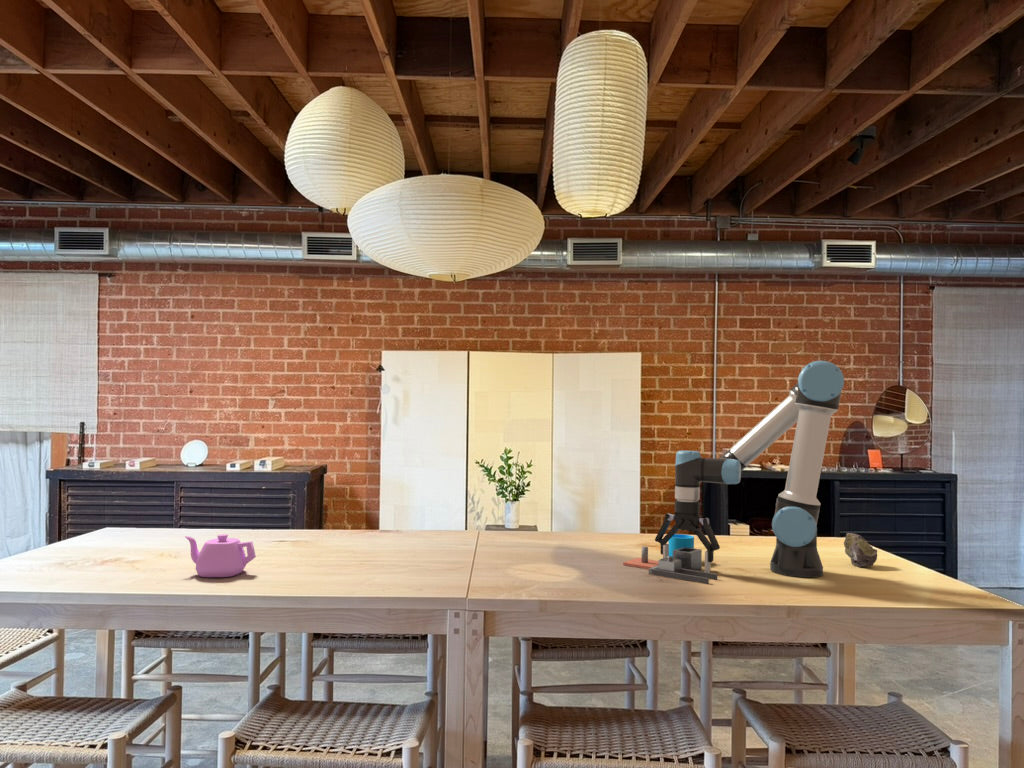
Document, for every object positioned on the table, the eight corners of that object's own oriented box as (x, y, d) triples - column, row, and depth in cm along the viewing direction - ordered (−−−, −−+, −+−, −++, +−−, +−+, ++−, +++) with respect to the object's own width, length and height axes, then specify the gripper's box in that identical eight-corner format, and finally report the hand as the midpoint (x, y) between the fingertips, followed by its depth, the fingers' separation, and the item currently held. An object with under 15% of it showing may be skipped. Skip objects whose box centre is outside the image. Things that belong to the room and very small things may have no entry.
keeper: (666, 564, 218) (666, 546, 219) (652, 569, 211) (652, 551, 211) (637, 560, 225) (637, 542, 225) (623, 565, 217) (623, 547, 217)
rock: (835, 564, 223) (835, 534, 223) (848, 561, 229) (848, 531, 230) (870, 570, 215) (870, 539, 215) (882, 566, 221) (882, 535, 222)
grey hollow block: (701, 568, 213) (701, 549, 214) (691, 573, 207) (691, 553, 207) (683, 565, 217) (683, 546, 217) (672, 570, 211) (672, 550, 211)
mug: (697, 564, 221) (697, 538, 221) (672, 564, 220) (673, 538, 220) (684, 556, 233) (685, 532, 233) (661, 556, 232) (661, 532, 232)
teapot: (192, 568, 201) (194, 530, 202) (261, 569, 202) (263, 531, 203) (172, 579, 188) (174, 538, 189) (246, 579, 189) (248, 539, 190)
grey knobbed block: (681, 573, 205) (681, 556, 205) (674, 576, 201) (674, 559, 202) (665, 570, 208) (665, 554, 209) (658, 573, 204) (658, 556, 205)
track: (717, 579, 200) (717, 574, 200) (707, 584, 194) (707, 578, 194) (659, 569, 211) (659, 564, 211) (648, 573, 205) (648, 568, 205)
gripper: (731, 503, 208) (730, 573, 207) (655, 495, 224) (654, 560, 223) (721, 505, 202) (721, 577, 201) (645, 497, 218) (644, 564, 217)
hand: (686, 569), depth 212 cm, fingers open, 13 cm apart
